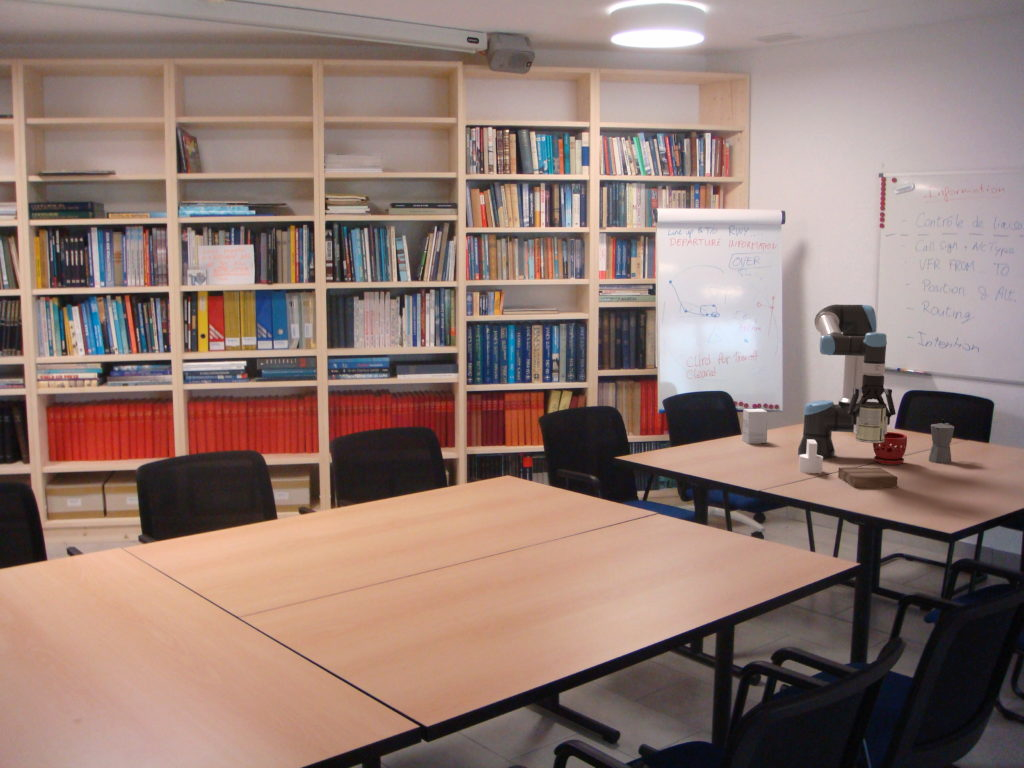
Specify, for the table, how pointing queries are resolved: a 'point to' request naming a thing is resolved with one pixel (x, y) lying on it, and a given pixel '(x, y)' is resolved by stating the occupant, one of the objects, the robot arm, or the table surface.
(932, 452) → the coffeepot
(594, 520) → the table surface
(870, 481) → the walnut plinth
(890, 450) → the plant pot
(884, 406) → the coffee can
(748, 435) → the supplement box
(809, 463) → the base with upright slab
